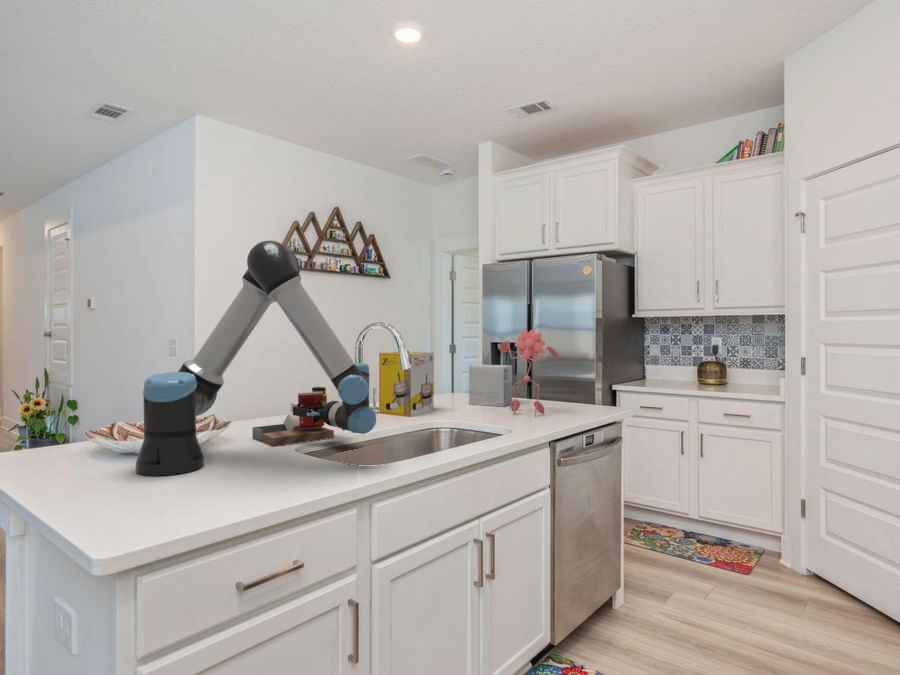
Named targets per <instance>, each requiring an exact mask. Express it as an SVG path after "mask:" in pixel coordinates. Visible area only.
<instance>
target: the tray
mask: <svg viewBox="0 0 900 675" xmlns="http://www.w3.org/2000/svg"><path fill="white" fill-rule="evenodd" d="M279 431H287V429H286V427H285V425H284V423H277V424H269V425H261V426H253V427H252V439H253V438H254V439H253V440H256V441H258V440H259V442H261V434H263V433H271V432H279Z"/></svg>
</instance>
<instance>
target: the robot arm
mask: <svg viewBox="0 0 900 675" xmlns="http://www.w3.org/2000/svg"><path fill="white" fill-rule="evenodd" d="M246 259H247V260H246V264H247V269H246V271H245V273H244V274H243V276H242V277H241V280H242V286H241V287H242V288H241V290H239V291H238V293H237V295H236V296H235V298H234V299H233V301H232V302H231V303H230V305H229V306H228V308H227V310H226V311H225V312H224V314H223V316H222V317H221V318H220V320H219V321H218V322H217V323H216V324H217V325H215V327H214V329H213V330H212V332H211V333H210V335H209V336H208V338H206V341H205V342H204V344H203V345H202V346H201V348H200V349H199V351H198V352H197V354H196V355H195V357H194V358H192V359H190V360H189V359H188V360H184V362H183V364H182V365H181V366H180V368H179V369H178V371H171V372H168V371H167V372H163V373H157V374H153V375H151V376H147V378H146V379H145V381H144V383H143V391H142V395H143V441H142V444H141V448H140V450H139V453H138V456H137V459H136V462H135V472H136V474H139V475H142V476H143V475H144V476H153V477H154V476H172V475H179V474H185V473H190V472H194V471H197V470H199V469H202V468H203V467H204V464H205V462H204V460H205V457H204V453H203V450H202V448H201V445H200V442H199V439H198V438H197V416H201V415H203V414H205V413H206V412H207V411H209V410H210V409H211V408H212V406H213V405H214V403H215V402H216V399H217V397H218V392H220V390H221V388H222V387H223V386H224V384H225V380H224V377H223V376H224V374H225V372H226V371H227V370H228V369H229V367H230V365H231V364H232V362H233V360H234V359H235V357H237V354H238V353H239V351H240V350H241V348H242V347H243V345H245V343H246V341H247V339H248V338H249V337H250V335H251V334H252V333H253V331H254V329H255V327H256V326H257V325H258V324H259V322H260V321H261V319H262V317H263V316H264V314H265V313H266V311H267V310H268V309H269V307H270V306H271V304H273V303H277V304H278V306H279V307H280V309H281V310H282V311H283V313H284V314H285V316H286V317H287V319H288V320H289V322H290V323H291V325H292V326H293V328H294V329H295V330H296V332H297V333H298V335H299V336H300V338H301V339H302V341H303V342H304V343H305V345H306V347H307V348H308V349H309V351H310V352H311V355H313V357H314V358H315V360H316V361H317V362H318V364H319V366H320V367H321V368H322V369H323V371H324V373H325V374H326V375H327V377H328V378H329V380H330V381H331V384H333V386H334V388H335V389H336V390H337V393H338V397H339V398H340V399H341V400H342V401H339V400H331V401H328V402H327V403H324V406H314V407H305V406H302V405H301V404H298V403H294V402H291V403H290V412H291V413H293V415H294V416H301V417H306V418H309V419H311V418H312V417H313V416H314V417H315V418H321V419H323V421H324V424H326V425H327V426H331V427H334V428H339V429H341V430H342V431H343V432H344V431H349V432H351V433H354V434H362V435H365V434H367V433H369V432H371V431H372V430H373V429H374V428H375V426H376V424H377V416H376V413H375V411H374V410H373V409H372V408H371V407H370V376H371V375H370V366H369V364H367V363H365V362H363V363H362V362H354V361H353V358H351V356H350V355H349V353H348V351H347V350H346V349H345V346H344V345H343V344H342V342H341V341H340V339H339V338H338V336H337V335H336V334H335V332H334V331H333V329H332V328H331V327H330V324H328V322H327V320H326V319H325V317H324V316H323V314H322V313H321V312H320V310H319V308H318V307H317V306H316V304H315V302H314V301H313V300H312V298H311V296H309V294H308V293H307V291H306V289H305V287H304V286H303V285H302V283H301V281H302V276H301V275H300V273H301V271H300V270H301V269H300V268H301V266H300V262H299V259H298V257H297V256H296V254H295V253H294V252H293V251H291V249H289V248H288V247H287V246H285V245H284V244H282V243H281V242H279V241H275V240H264V241H263V240H262V241H261V242H258V243H256V244H255V245H254V246H253V247H252V248H251V249H250V250H249V253H248V254H247V258H246ZM318 408H319V409H318Z"/></svg>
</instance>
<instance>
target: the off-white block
mask: <svg viewBox="0 0 900 675" xmlns="http://www.w3.org/2000/svg"><path fill="white" fill-rule="evenodd" d="M282 424H284V425H285V427H286V429H287V430H296V429H304V428H300V425H299V416H294V415H293V412H291V413H288V414H287V416H286V417H285V419H284V420H283V423H282Z"/></svg>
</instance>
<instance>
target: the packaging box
mask: <svg viewBox="0 0 900 675" xmlns="http://www.w3.org/2000/svg"><path fill="white" fill-rule="evenodd" d="M398 352H399V351H386V352H384V351H383V352H379V354H378V355H379V358H378V361H379V364H378V365H379V366H378V367H379V368H378V370H379V373H378V380H379V382H378V384H379V385H378V391H379V392H378V396H379V397H378V400H379V401H378V403H379V404H378V411H379V410H380V413H379V414H383V415H392V416H402V417H408V418H409V417H410V418H411V417H416V416H422V415H425V414H430V412H431V413H433V412H434V409H435V408H434V407H435V406H434V405H435V404H434V402H435V401H434V400H435V399H434V397H435V395H434V394H435V387H434V386H435V352H431V351H430V352H427V351H425V352H424V351H408V352H409V356H410V360H411V364H412V366H411V369H410V370H409V371H402V370H401V367H400V359H399V353H398Z"/></svg>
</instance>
